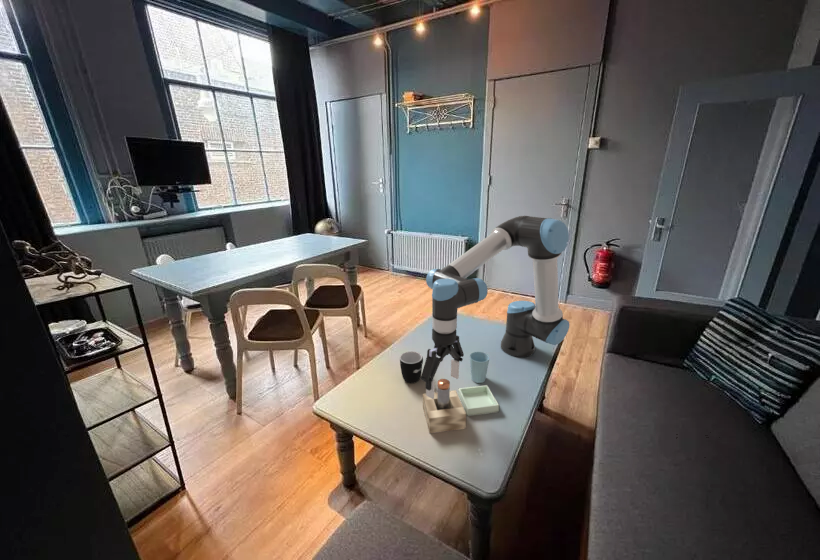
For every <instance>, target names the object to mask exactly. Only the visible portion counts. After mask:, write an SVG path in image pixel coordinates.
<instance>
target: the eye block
mask: <svg viewBox="0 0 820 560" xmlns="http://www.w3.org/2000/svg"><path fill="white" fill-rule="evenodd" d="M437 394H438V391H437V392H434V399H432V398H430V397H428V396H426V393H422V410H423V412H424V417H425V420H426V425H427V429H428V433H429V434H434V433H442V432H449V431H456V430H465V429H466V424H467V423H466V422H467V420H466V419H467V414H466V412H465V409H464V407H463V405H462V402H461V400H460V398H459V396H458V391H457V390H456V389H454V390H450V397H449V409H443V410H437Z"/></svg>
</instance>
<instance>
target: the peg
mask: <svg viewBox="0 0 820 560" xmlns="http://www.w3.org/2000/svg"><path fill="white" fill-rule="evenodd" d="M450 385H451V383H450V380H448V379H446V378H440V379H438V381H437V392H438V394H437V410H443V409H449V397H450V391H451V386H450Z"/></svg>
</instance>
